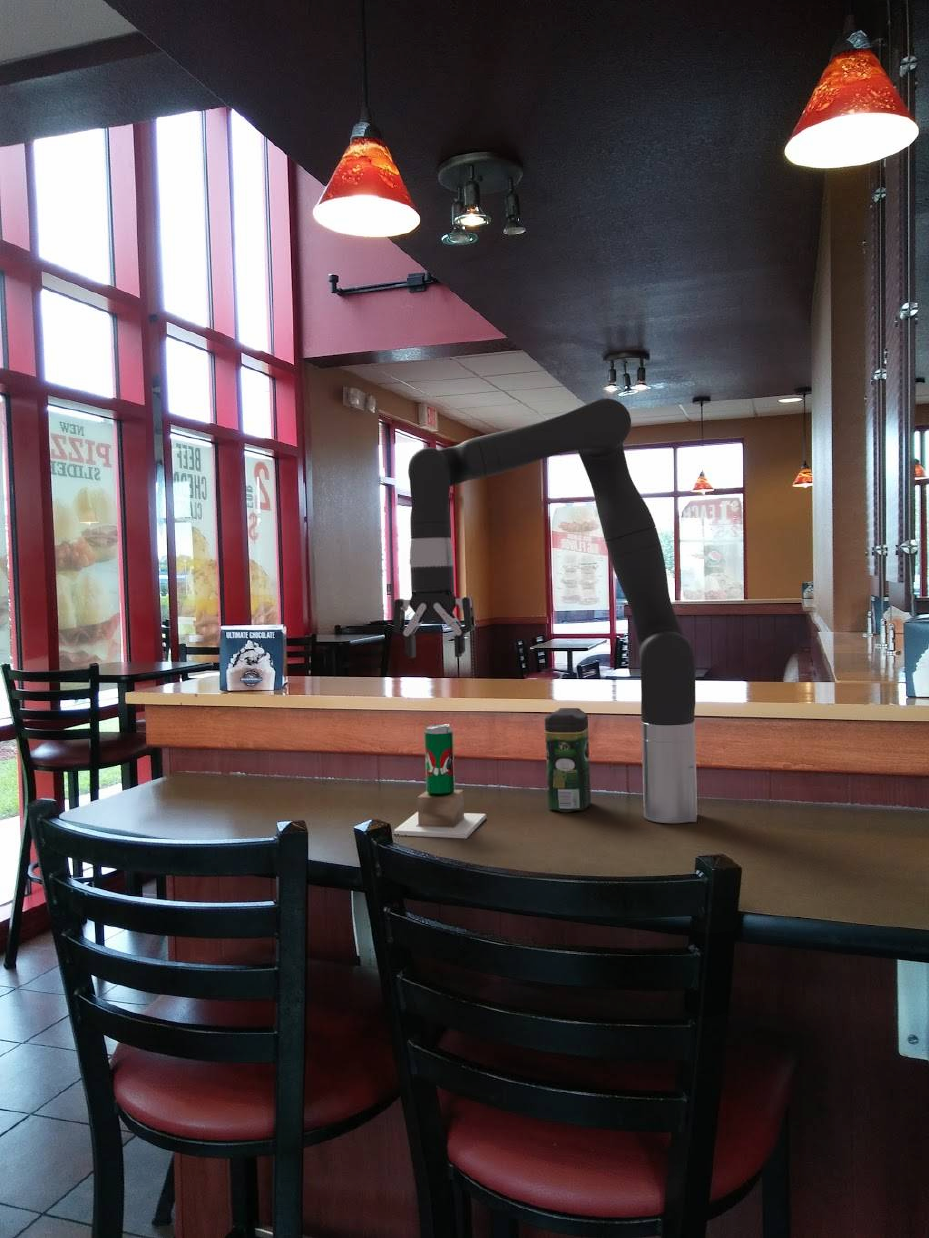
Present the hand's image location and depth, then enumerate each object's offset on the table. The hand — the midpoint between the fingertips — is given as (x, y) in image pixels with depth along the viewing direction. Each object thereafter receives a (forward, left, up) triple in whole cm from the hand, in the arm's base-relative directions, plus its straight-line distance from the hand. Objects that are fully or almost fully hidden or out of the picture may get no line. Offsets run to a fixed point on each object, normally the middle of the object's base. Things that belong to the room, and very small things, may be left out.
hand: (435, 657), depth 161 cm
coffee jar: (-20, -17, -30) cm, 40 cm away
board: (0, 0, -30) cm, 30 cm away
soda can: (0, 0, -24) cm, 24 cm away
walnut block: (0, 0, -29) cm, 29 cm away
